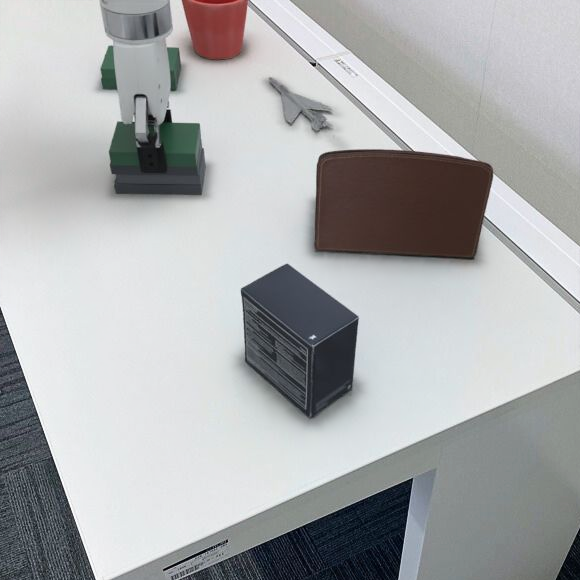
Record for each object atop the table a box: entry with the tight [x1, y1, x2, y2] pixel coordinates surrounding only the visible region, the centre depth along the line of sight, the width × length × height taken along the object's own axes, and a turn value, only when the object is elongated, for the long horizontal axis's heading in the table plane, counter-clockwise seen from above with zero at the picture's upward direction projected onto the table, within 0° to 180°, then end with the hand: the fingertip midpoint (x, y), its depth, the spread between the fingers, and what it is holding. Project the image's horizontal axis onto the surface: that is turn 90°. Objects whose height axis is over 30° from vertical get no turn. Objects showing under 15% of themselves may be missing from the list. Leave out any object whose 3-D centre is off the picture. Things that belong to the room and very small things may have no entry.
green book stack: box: [100, 45, 182, 92], centre depth 118 cm, size 11×8×3 cm
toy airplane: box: [268, 76, 335, 138], centre depth 114 cm, size 8×21×2 cm, turn 33°
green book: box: [108, 120, 202, 167], centre depth 98 cm, size 10×7×2 cm, turn 93°
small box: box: [240, 263, 360, 419], centre depth 76 cm, size 11×6×10 cm, turn 44°
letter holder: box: [313, 148, 494, 260], centre depth 92 cm, size 10×20×14 cm, turn 90°
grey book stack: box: [109, 139, 207, 196], centre depth 100 cm, size 11×6×4 cm, turn 93°
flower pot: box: [181, 0, 249, 61], centre depth 124 cm, size 11×11×10 cm
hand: (157, 153), depth 99 cm, fingers closed on green book, 7 cm apart
